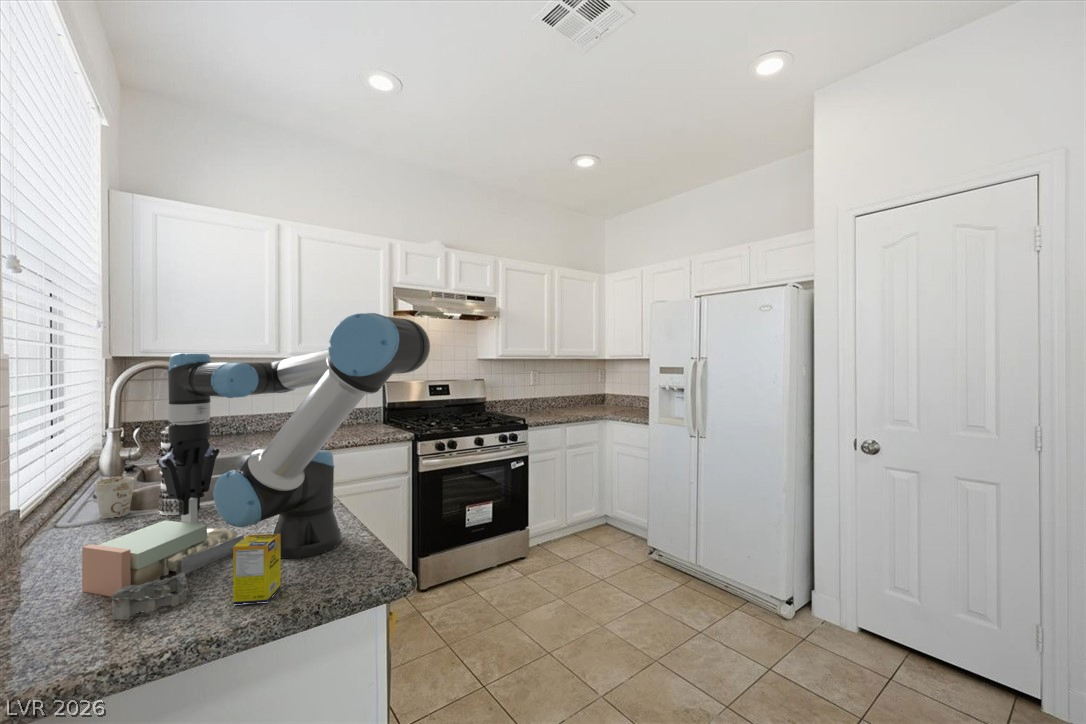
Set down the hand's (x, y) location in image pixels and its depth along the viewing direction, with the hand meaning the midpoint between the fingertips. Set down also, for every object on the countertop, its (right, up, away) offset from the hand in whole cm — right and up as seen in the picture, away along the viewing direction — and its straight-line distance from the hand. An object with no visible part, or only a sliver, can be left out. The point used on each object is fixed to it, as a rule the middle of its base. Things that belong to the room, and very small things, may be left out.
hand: (189, 527), depth 105 cm
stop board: (-4, -7, -16) cm, 18 cm away
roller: (-2, -7, -10) cm, 13 cm away
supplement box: (+26, -7, -17) cm, 32 cm away
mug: (-44, -7, +29) cm, 54 cm away
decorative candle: (-28, -7, +33) cm, 43 cm away
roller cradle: (-3, -7, -11) cm, 13 cm away
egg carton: (+8, -8, -20) cm, 22 cm away
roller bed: (0, -7, 0) cm, 7 cm away
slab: (-2, -2, -7) cm, 8 cm away
